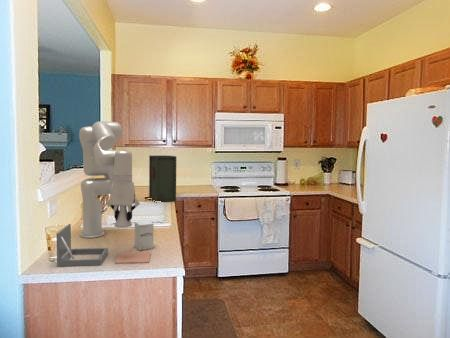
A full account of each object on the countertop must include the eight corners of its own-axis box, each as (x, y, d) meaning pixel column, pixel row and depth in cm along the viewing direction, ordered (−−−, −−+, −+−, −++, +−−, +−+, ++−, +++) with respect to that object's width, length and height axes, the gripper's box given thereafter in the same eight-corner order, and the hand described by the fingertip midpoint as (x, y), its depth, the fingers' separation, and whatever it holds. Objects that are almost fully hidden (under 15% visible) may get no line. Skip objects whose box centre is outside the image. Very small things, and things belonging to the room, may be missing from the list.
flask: (135, 225, 154) (135, 203, 153) (124, 228, 147) (124, 205, 146) (121, 223, 156) (121, 202, 156) (111, 227, 150) (111, 204, 149)
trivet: (120, 253, 159) (120, 252, 159) (151, 252, 161) (151, 251, 161) (115, 263, 146) (115, 262, 146) (148, 262, 148) (148, 261, 148)
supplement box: (138, 250, 164) (139, 225, 163) (134, 246, 170) (134, 221, 169) (153, 248, 168) (153, 223, 167) (148, 244, 174) (148, 220, 173)
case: (69, 253, 157) (68, 223, 156) (108, 252, 160) (107, 223, 159) (57, 266, 141) (56, 233, 140) (100, 265, 144) (100, 232, 143)
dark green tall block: (176, 201, 302) (176, 156, 299) (155, 203, 293) (156, 156, 290) (168, 198, 318) (168, 155, 315) (149, 199, 309) (149, 155, 306)
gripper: (100, 179, 147) (101, 221, 148) (139, 180, 146) (139, 222, 147) (107, 177, 154) (108, 217, 156) (144, 178, 153) (144, 218, 155)
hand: (123, 219), depth 151 cm, fingers closed on flask, 4 cm apart
